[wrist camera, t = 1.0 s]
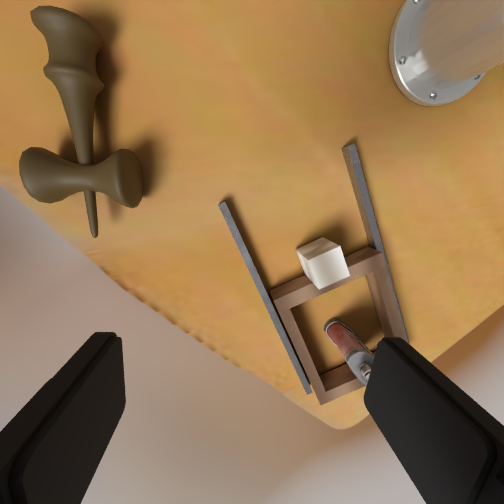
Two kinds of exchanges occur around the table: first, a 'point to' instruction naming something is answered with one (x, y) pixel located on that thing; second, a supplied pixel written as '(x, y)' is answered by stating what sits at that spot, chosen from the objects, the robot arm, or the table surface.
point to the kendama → (77, 122)
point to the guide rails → (371, 233)
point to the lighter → (351, 348)
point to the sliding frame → (323, 280)
